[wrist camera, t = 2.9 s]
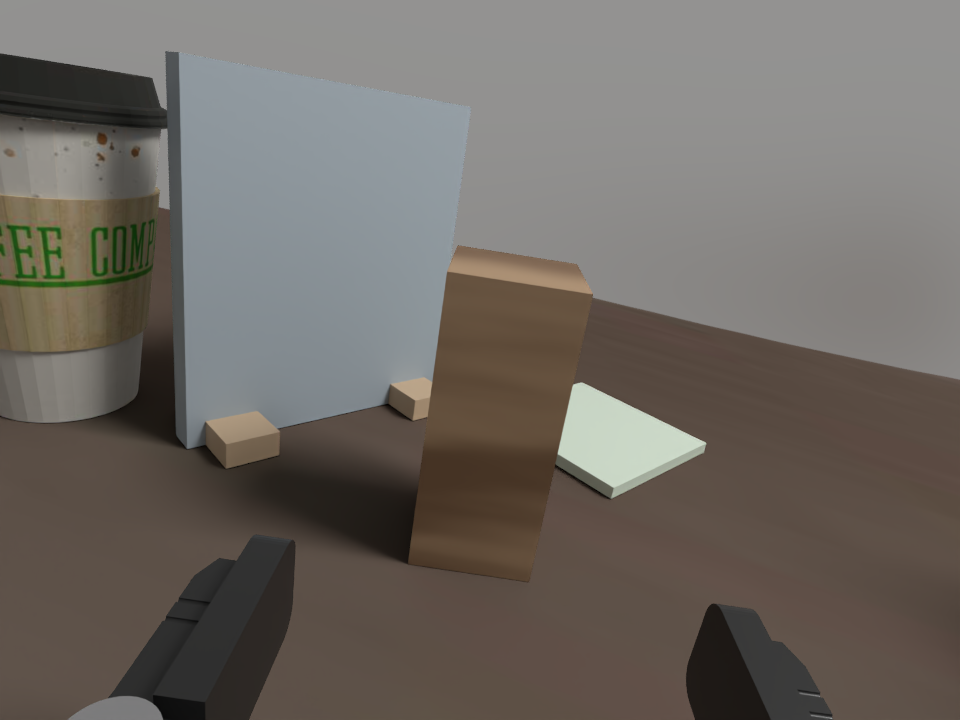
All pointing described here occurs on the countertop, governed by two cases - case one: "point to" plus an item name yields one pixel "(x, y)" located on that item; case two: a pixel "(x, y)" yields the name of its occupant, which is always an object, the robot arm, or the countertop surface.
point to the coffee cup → (74, 236)
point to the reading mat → (618, 443)
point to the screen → (303, 249)
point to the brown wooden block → (497, 410)
